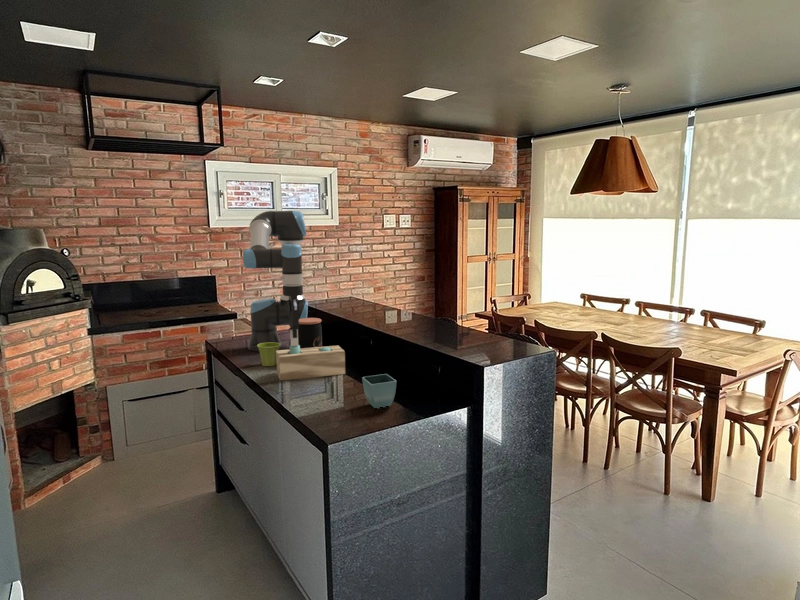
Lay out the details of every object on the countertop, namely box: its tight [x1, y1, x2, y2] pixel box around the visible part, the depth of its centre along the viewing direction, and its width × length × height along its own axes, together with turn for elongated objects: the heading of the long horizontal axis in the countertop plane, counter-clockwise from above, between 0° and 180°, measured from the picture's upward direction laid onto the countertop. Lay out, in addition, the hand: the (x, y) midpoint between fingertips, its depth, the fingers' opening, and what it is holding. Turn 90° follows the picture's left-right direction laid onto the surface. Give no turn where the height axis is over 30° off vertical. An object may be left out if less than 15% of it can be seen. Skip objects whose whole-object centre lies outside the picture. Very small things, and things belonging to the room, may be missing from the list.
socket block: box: [276, 345, 346, 381], centre depth 201 cm, size 11×25×9 cm, turn 110°
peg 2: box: [320, 346, 331, 352], centre depth 203 cm, size 4×4×8 cm
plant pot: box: [257, 342, 280, 367], centre depth 214 cm, size 9×9×9 cm
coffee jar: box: [298, 317, 323, 349], centre depth 219 cm, size 11×11×18 cm
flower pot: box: [361, 373, 397, 409], centre depth 164 cm, size 9×9×9 cm
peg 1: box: [288, 345, 300, 354], centre depth 199 cm, size 4×4×8 cm
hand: (294, 345), depth 198 cm, fingers closed
